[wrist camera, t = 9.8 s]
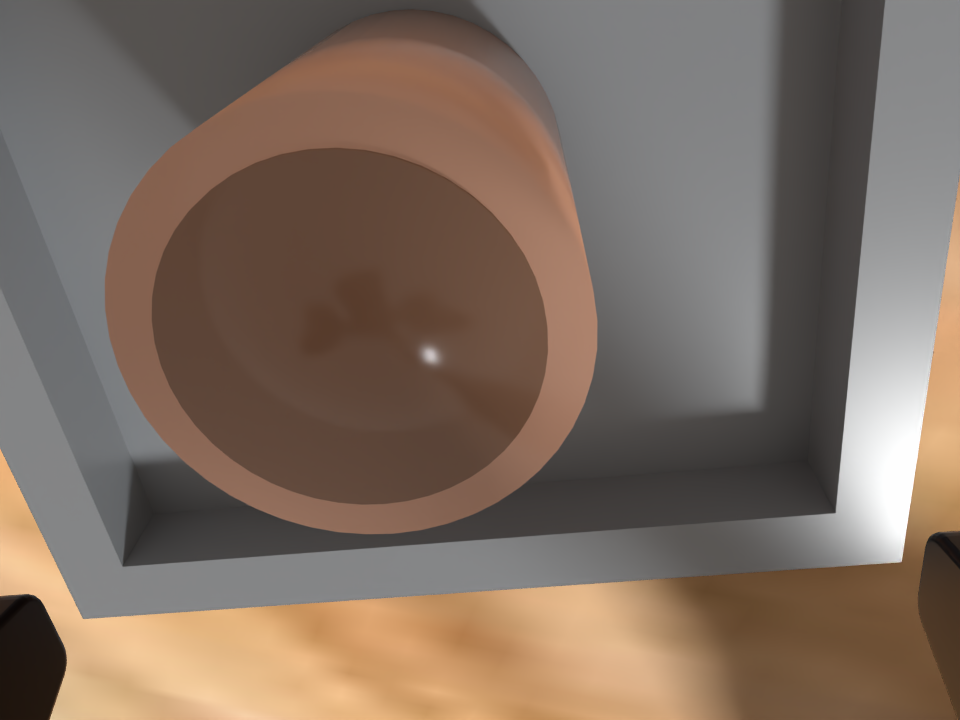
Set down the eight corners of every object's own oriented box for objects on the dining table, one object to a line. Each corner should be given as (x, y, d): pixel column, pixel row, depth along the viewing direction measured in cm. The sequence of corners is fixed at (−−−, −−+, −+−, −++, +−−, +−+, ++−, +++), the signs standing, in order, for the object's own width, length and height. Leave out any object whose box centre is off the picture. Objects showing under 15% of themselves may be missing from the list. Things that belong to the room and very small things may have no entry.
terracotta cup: (572, 284, 18) (610, 521, 11) (307, 311, 19) (184, 554, 12) (549, -11, 16) (581, 59, 8) (239, 30, 16) (23, 127, 9)
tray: (857, 487, 22) (901, 562, 19) (128, 544, 24) (83, 619, 21) (978, -598, 12) (1093, -722, 10) (-258, -362, 14) (-421, -418, 12)
